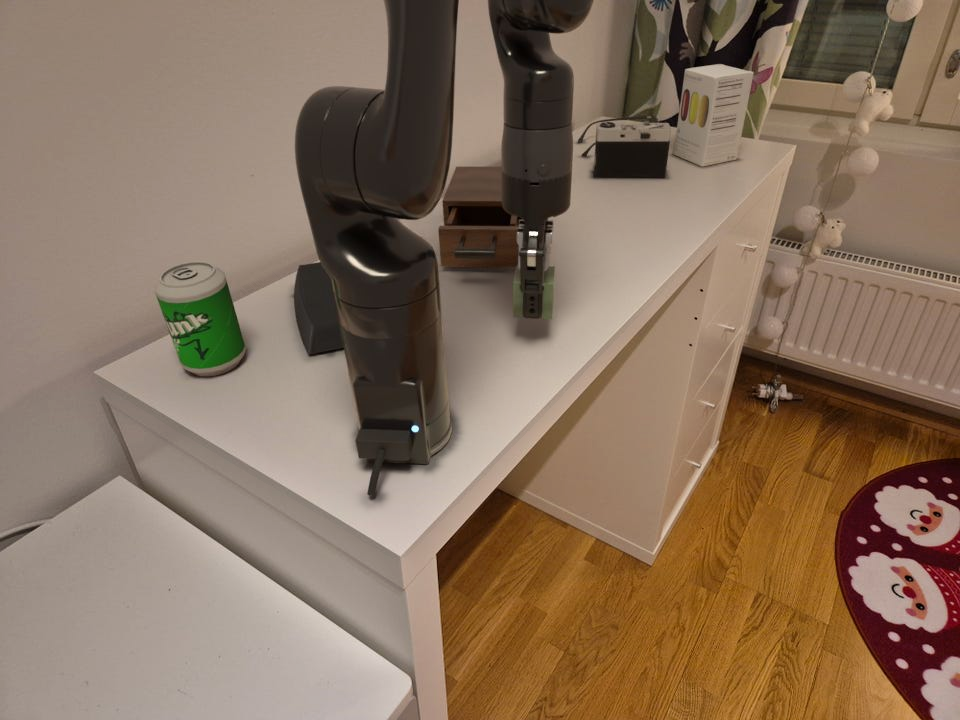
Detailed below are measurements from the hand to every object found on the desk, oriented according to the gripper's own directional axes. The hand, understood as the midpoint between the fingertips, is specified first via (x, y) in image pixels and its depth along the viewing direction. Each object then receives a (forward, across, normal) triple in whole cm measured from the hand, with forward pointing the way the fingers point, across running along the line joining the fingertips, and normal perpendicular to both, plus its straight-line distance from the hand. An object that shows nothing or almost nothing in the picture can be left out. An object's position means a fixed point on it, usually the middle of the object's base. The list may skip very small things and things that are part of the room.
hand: (533, 305), depth 79 cm
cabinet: (+4, -33, -9) cm, 34 cm away
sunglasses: (+3, -76, +14) cm, 77 cm away
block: (0, 0, 0) cm, 0 cm away
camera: (+3, -61, +15) cm, 63 cm away
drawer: (+3, -21, -9) cm, 23 cm away
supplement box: (+3, -71, +31) cm, 77 cm away
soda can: (+5, +9, -38) cm, 39 cm away
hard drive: (+4, -4, -25) cm, 26 cm away
